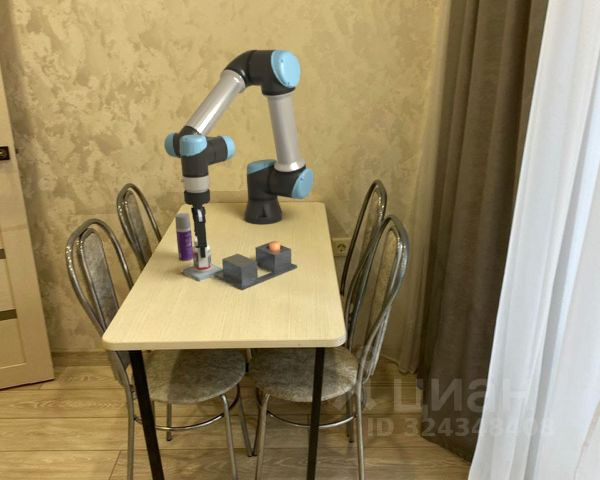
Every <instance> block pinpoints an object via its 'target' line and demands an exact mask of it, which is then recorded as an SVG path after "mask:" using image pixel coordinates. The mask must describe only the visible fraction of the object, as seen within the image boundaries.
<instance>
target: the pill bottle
mask: <svg viewBox="0 0 600 480" xmlns="http://www.w3.org/2000/svg"><path fill="white" fill-rule="evenodd" d="M206 239H207V237H206ZM207 240H208V239H207ZM193 244H194V245H192V247H193V248H192V251H193V266H194V270H195V271H197V272H206V271H209V270H210V269H211V268H212V264H213V263H212V253H211V246H210V244H208V243H207V256H208V267H200V268H199V261H198V248H196V247H195V246H197V245H198V241H197V238H193Z"/></svg>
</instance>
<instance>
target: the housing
mask: <svg viewBox="0 0 600 480" xmlns="http://www.w3.org/2000/svg"><path fill="white" fill-rule="evenodd" d="M269 243H270V242H268V243H267V242H266V243H264V244H261V245H259V246H256V247H255V259H252V258H250V257H247V256H245V255H242V254H241V253H236V254H233V255H230V256H227V257H224V258H222V259H221V261H222V262H221V264H222V269H223V272H221V273H218V274H215V276H214V277H215V278H216V279H219V280H221V281H222V282H225V283H226V284H229V285H231V286H232V287H233V286H234V287H236V288H237V289H240V290H242V291H244V290H247V289H249V288H251V287H255V286H257V285H258V284H261V283H264V282H266V281H269V280H271V279H274V278H276V277H278V276H280V275H281V276H282V275H283V274H285V273H289V272H290V271H293V270H296V269H298V265H297V264H294V263H292V248H290V247H286V246H284V245H281V244H280V249H279V250H276V251H272V250H270V249H269ZM258 267H260V268H261V269H264V270H267V271H269V272H268V273H266V274H264V275H261V276H259V275H258Z"/></svg>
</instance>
